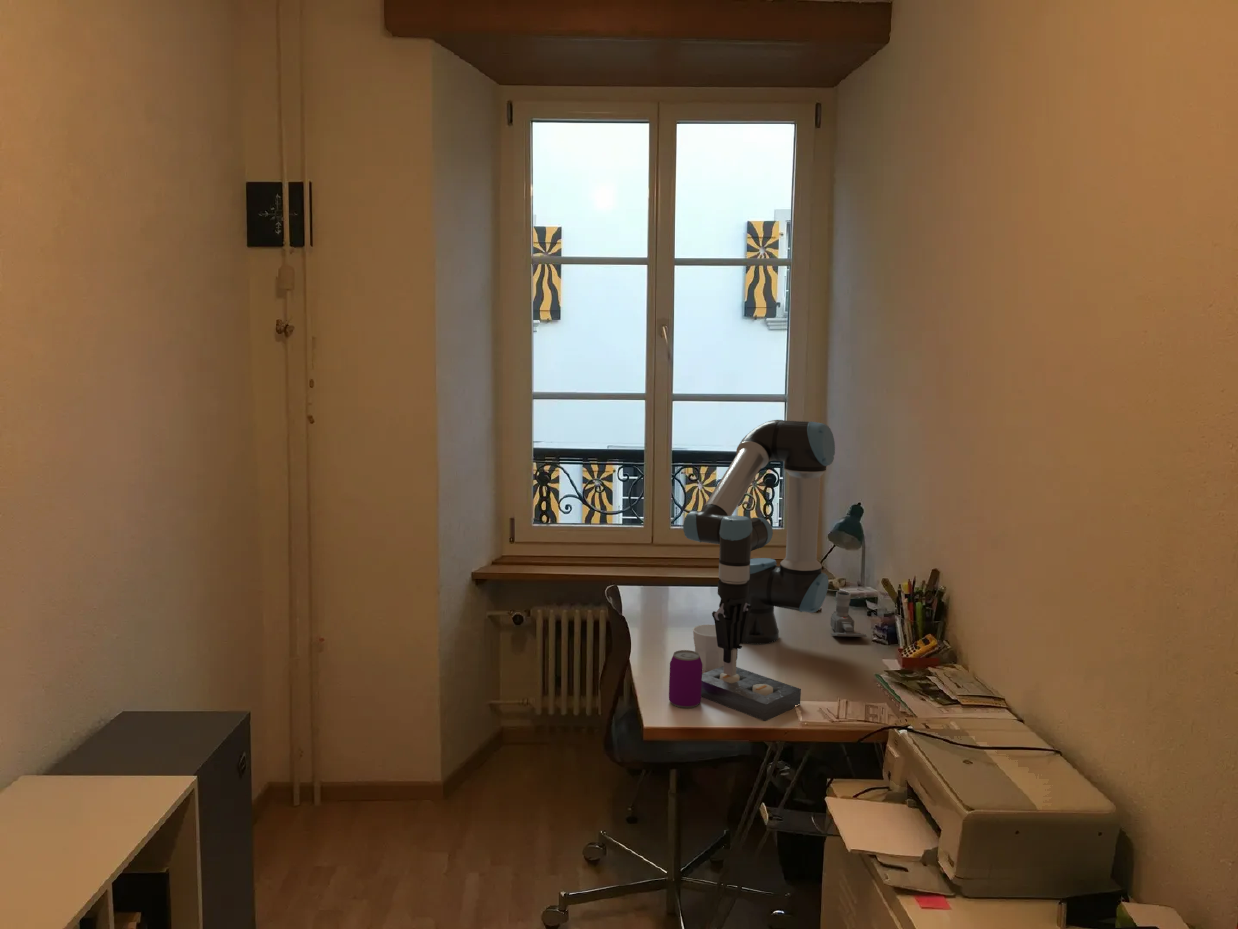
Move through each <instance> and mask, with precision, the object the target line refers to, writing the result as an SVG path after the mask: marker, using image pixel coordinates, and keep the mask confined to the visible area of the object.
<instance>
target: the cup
mask: <svg viewBox="0 0 1238 929" xmlns="http://www.w3.org/2000/svg"><path fill="white" fill-rule="evenodd" d="M692 631H693V632H692V633H693V643H694V644H693V645H694V651H695V652H697V653H699V655H700V659H701V662H702V669H703V670H702V671H704V670H705V671H704V672H708V671H711V670H714V669H716V668H719V667H722V666H724V661H723V653H724V650H723V648H720V647H718V645H717V637H716V629H715V624H700V625H699V624H698V625H697V626H694V627H693V629H692Z"/></svg>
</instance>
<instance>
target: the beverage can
mask: <svg viewBox="0 0 1238 929" xmlns="http://www.w3.org/2000/svg"><path fill="white" fill-rule="evenodd" d="M702 674H703V670H702V662H701V659H700V655H699V653H697V652H695V650H689V649H688V650H687V649H680V650H676V651H674V652H673V655H672V657H671V659H670V662H669V678H668V679H669V680H668V682H669V684H668V701H669V702H670V703H671V705H672V706H674V707H677V708H680V709H691V708H695V707H697V706H698V705H699V704H700V703H701V700H702V697H701V688H702Z"/></svg>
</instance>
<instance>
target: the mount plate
mask: <svg viewBox="0 0 1238 929" xmlns="http://www.w3.org/2000/svg"><path fill="white" fill-rule="evenodd" d="M723 671H724V666H722V667H719V668H716V669H714V670H711V671H704V672H702V688H701V698H704V699H707V700H709V701H712V702H713V703H717V704H720V705H723V706H725V707H728V708H730V709H732V710H735V711H737V712H740V713H743V714H746V715H748V716H751V717H753V718H756V719H758V720H761V721H763V722H766V721H768V720H770V719H771V720H772V719H773V718H775V717H777V716H780V715H782V714H784V713H786V712H788V711H790V710H792V709H795V708H796V707H795V705H798V704H800V705H801V697H802V696H801V694H802V689H801V688H799V687H796V686H793V685H790V684H787V683H785V682H781V681H779V680H776V679H773V678H770V677H767V676H764V675H761V674H759V673H755V672H752V671H749V670H746V669H744V668H740V667H738V666H736V674H738V675H739V676H740V678H739V681H737V682H735V683H732V684H731V683H728V682H725V681H723V680H720V674H721V673H723ZM755 684H767V685H770V686H772V687H773V693H771V694H769V695H767V696H764V695H761V694H759V693H756V692H753V691H752V690H753V685H755ZM794 707H795V708H794Z"/></svg>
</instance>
